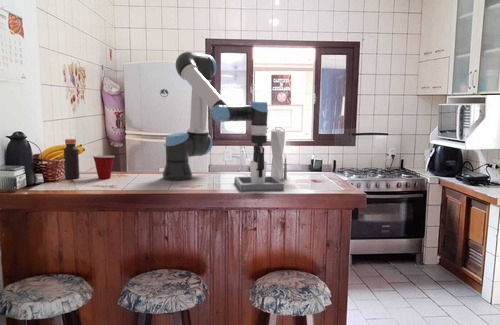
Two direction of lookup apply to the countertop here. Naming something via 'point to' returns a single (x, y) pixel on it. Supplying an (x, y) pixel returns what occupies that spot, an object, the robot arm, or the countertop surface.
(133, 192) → the countertop surface
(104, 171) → the plastic cup
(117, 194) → the countertop surface
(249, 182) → the slate tray
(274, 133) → the skyscraper
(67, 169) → the bottle
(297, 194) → the countertop surface
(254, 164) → the white cup
